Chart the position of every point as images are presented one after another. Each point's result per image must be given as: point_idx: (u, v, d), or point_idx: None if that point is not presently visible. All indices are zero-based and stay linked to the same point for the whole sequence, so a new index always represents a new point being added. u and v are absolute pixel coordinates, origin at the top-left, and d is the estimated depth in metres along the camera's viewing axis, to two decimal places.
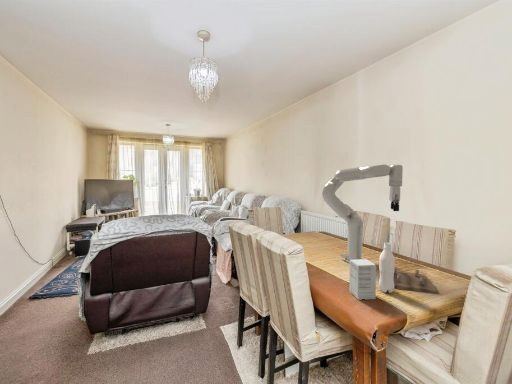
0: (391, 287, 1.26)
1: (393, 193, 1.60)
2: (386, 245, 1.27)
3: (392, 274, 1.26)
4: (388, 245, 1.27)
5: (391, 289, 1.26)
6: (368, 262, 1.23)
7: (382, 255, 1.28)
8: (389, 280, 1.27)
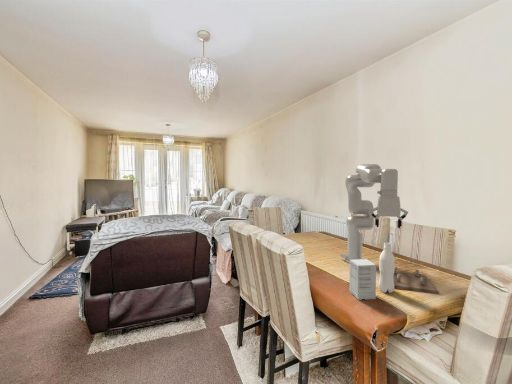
0: (391, 287, 1.26)
1: None
2: (386, 245, 1.27)
3: (392, 274, 1.26)
4: (388, 245, 1.27)
5: (391, 289, 1.26)
6: (368, 262, 1.23)
7: (382, 255, 1.28)
8: (389, 280, 1.27)
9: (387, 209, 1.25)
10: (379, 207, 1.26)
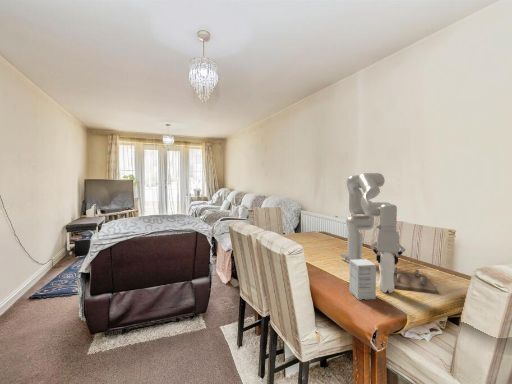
0: (391, 287, 1.26)
1: None
2: None
3: (392, 274, 1.26)
4: None
5: (391, 289, 1.26)
6: (368, 262, 1.23)
7: (382, 255, 1.28)
8: (389, 280, 1.27)
9: (386, 244, 1.26)
10: (378, 242, 1.27)
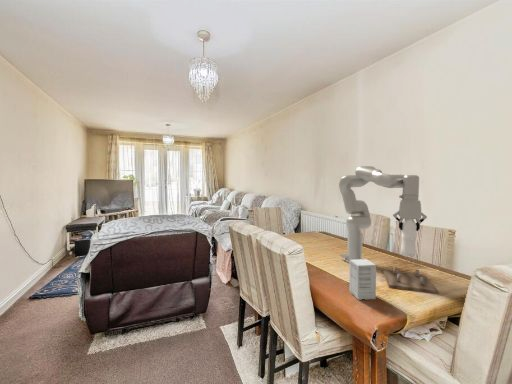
0: (413, 252, 1.36)
1: None
2: None
3: (414, 240, 1.36)
4: None
5: (413, 253, 1.36)
6: (368, 262, 1.23)
7: (404, 222, 1.37)
8: (411, 245, 1.36)
9: (409, 212, 1.35)
10: (401, 210, 1.37)
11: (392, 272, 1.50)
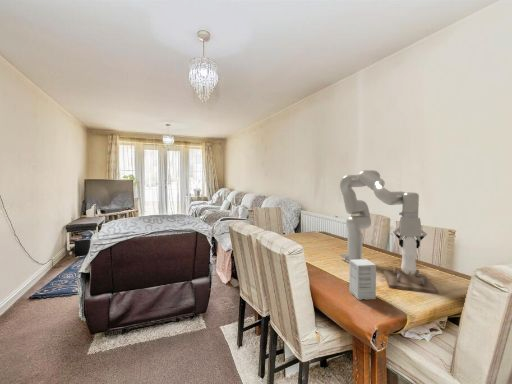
0: (413, 269, 1.36)
1: None
2: None
3: (414, 257, 1.37)
4: None
5: (413, 271, 1.36)
6: (368, 262, 1.23)
7: (405, 239, 1.38)
8: (412, 262, 1.37)
9: (409, 229, 1.36)
10: (401, 227, 1.37)
11: (392, 272, 1.50)
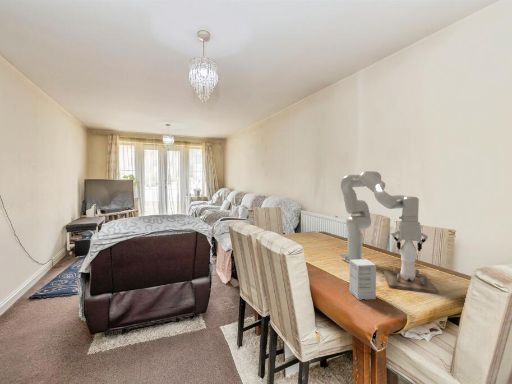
0: (412, 275, 1.37)
1: (420, 231, 1.35)
2: None
3: (413, 263, 1.37)
4: None
5: (412, 277, 1.37)
6: (368, 262, 1.23)
7: (404, 246, 1.39)
8: (411, 268, 1.37)
9: (409, 234, 1.36)
10: (401, 231, 1.38)
11: (392, 272, 1.50)
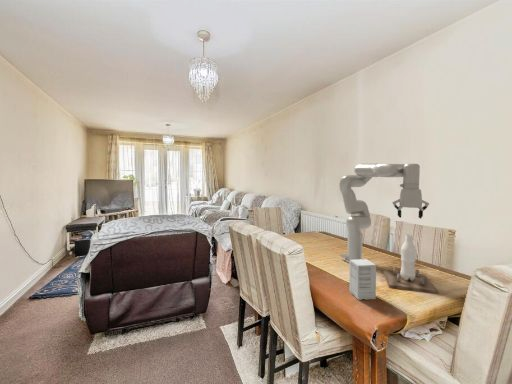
0: (412, 275, 1.37)
1: (421, 197, 1.34)
2: (408, 237, 1.38)
3: (413, 263, 1.37)
4: (410, 237, 1.37)
5: (412, 277, 1.37)
6: (368, 262, 1.23)
7: (404, 246, 1.38)
8: (411, 268, 1.37)
9: (409, 201, 1.35)
10: (402, 199, 1.36)
11: (392, 272, 1.50)
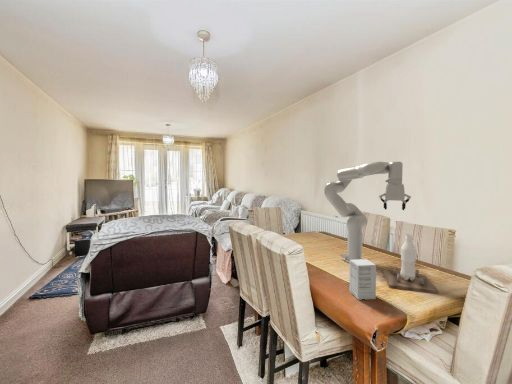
0: (412, 275, 1.37)
1: None
2: (408, 237, 1.38)
3: (413, 263, 1.37)
4: (410, 237, 1.37)
5: (412, 277, 1.37)
6: (368, 262, 1.23)
7: (404, 246, 1.38)
8: (411, 268, 1.37)
9: (394, 194, 1.53)
10: (387, 193, 1.54)
11: (392, 272, 1.50)
